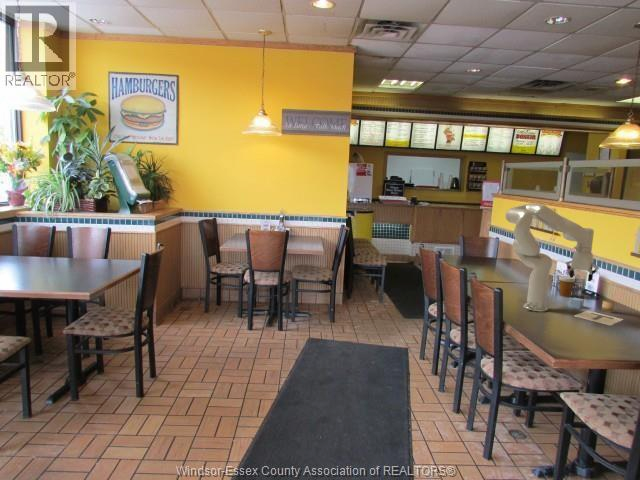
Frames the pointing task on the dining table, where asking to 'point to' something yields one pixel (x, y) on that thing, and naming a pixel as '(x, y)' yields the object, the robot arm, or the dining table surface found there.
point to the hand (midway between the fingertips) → (580, 279)
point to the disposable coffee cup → (566, 285)
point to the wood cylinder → (608, 306)
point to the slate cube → (577, 302)
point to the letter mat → (598, 317)
